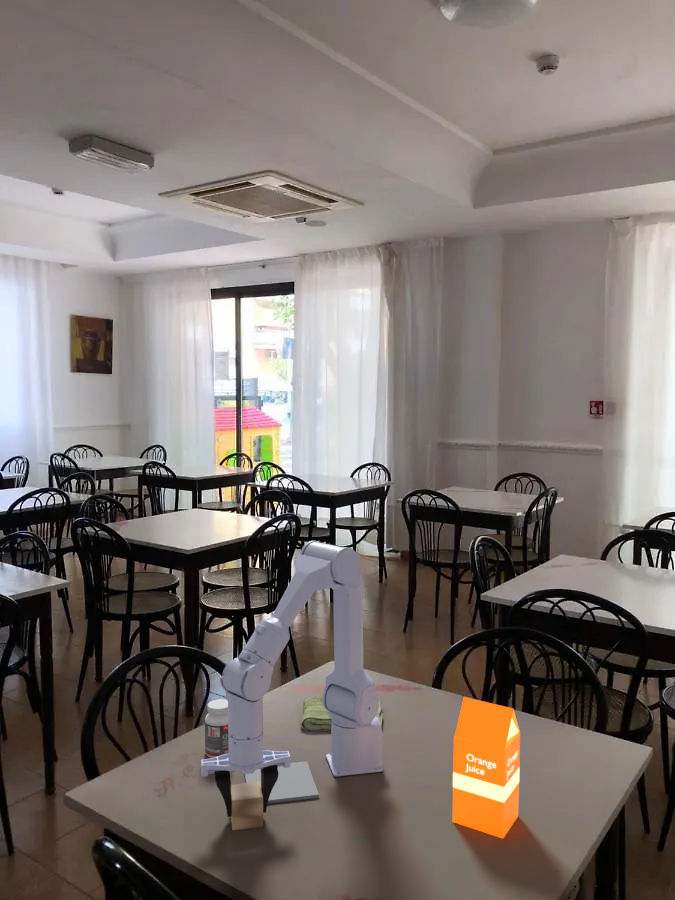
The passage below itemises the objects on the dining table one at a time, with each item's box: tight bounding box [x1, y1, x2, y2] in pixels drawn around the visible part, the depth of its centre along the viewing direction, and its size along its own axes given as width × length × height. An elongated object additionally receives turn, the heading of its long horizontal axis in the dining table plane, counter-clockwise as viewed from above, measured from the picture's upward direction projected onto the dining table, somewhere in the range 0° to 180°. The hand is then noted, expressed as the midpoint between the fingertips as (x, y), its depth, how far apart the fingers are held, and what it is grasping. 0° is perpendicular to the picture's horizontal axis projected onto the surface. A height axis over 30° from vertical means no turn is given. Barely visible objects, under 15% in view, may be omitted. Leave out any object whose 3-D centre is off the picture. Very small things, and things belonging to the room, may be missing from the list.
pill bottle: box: [204, 698, 228, 759], centre depth 145 cm, size 6×6×10 cm
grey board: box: [244, 761, 320, 805], centre depth 134 cm, size 12×12×1 cm
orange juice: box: [451, 696, 521, 839], centre depth 123 cm, size 8×9×20 cm
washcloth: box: [299, 696, 384, 732], centre depth 161 cm, size 13×18×3 cm
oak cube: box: [230, 781, 264, 831], centre depth 123 cm, size 5×5×5 cm
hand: (246, 811), depth 123 cm, fingers closed on oak cube, 5 cm apart
